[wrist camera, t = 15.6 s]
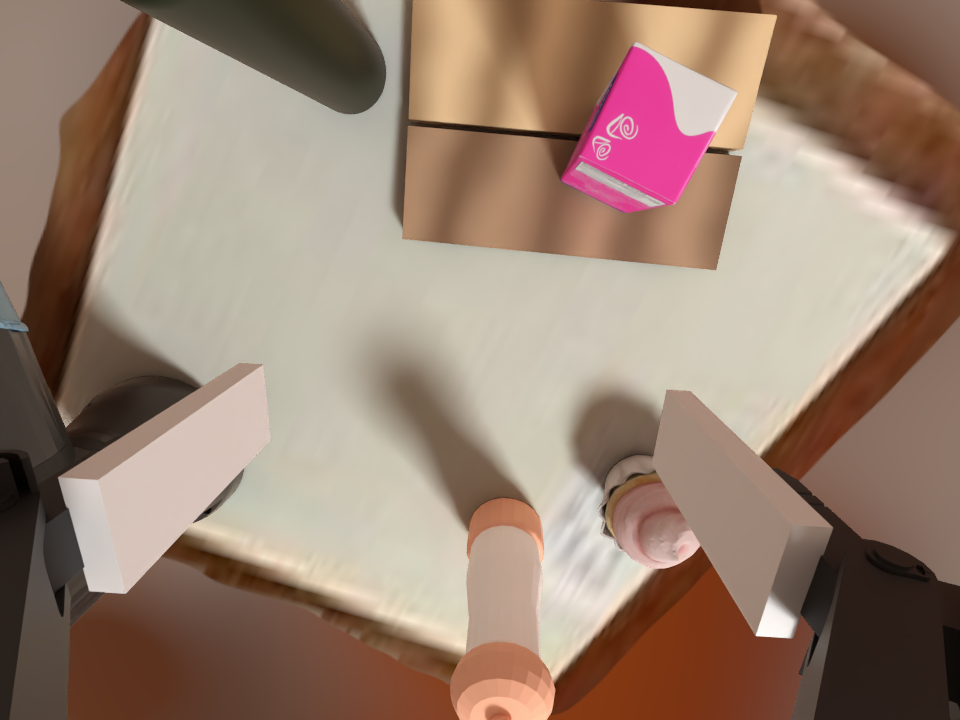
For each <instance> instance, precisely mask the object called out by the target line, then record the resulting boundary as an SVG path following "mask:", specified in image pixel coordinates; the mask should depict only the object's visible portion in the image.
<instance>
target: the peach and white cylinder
mask: <svg viewBox="0 0 960 720" xmlns="http://www.w3.org/2000/svg"><path fill="white" fill-rule="evenodd" d="M467 555H468V558H469V564H468V570H467V582H466V584H467V598H468V611H469V623H468V634H467V644H466V654H465V655H464V656H463V657H462V659H461V660H460V661H459V663H458V665H457V667H456V669H455V671H454V673H453V675H452V677H451V685H450V692H451V700H452V704H453V706H454V708H455V711H456V713H457V715H458V717H459V719H460V720H547V718H548V717H549V715H550V714H551V712H552V707H553V701H554V694H555V687H554V684H553V681H552V678H551V675H550V673H549V670H548V669H547V667H546V665H545V664H544V663H543V662H542V660H541V653H540V634H539V612H540V603H541V595H542V586H543V575H542V567H541V562H542V561H543V555H544V544H543V533H542V525H541V522H540V518H539V516H538V515H537V513H536V512H535V511H534V509H532V508H531V507H530V506H528V505H527V504H526V503H524V502H521V501H519V500H516V499H510V498H499V499H494V500H490V501H488V502H486V503H484V504H482V505H481V506H480V507H479V508H478V509H477V510H476V511H475V512H474V514H473V516H472V518H471V520H470V527H469V534H468V542H467Z"/></svg>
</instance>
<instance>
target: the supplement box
mask: <svg viewBox="0 0 960 720" xmlns="http://www.w3.org/2000/svg"><path fill="white" fill-rule="evenodd" d="M737 93H738V92H737V91H736V90H734V89H731V88H730V87H728V86H726V85H723V84H721V83H719V82H717V81H715V80H713V79H711V78H709V77H707V76H705V75H703V74H701V73H699V72H697V71H695V70H693V69H690V68H688V67H686V66H684V65H682V64H680V63H678V62H676V61H674V60H672V59H670V58H668V57H666V56H664V55H662V54H660V53H658V52H656V51H655V50H653V49H651V48H649V47H647V46H644V45H643V44H641V43H639V42H637V41H635V42H633V44H632V45H631V47H630V49H629V50H628V52H627V54H626V55H625V57H624V59H623V60H622V62H621V63H620V65H619V67H618V68H617V70H616V71H615V73H614V74H613V76H612V78H611V80H610V81H609V83H608V85H607V86H606V88H605V90H604V91H603V93H602V94H601V96H600V98H599V99H598V101H597V103H596V105H595V107H594V110H593V112H592V114H591V116H590V118H589V120H588V122H587V125H586V127H585V129H584V131H583V133H582V135H581V137H580V139H579V142H578V144H577V146H576V148H575V150H574V152H573V154H572V157H571V159H570V161H569V163H568V165H567V167H566V169H565V171H564V173H563V175H562V177H561V179H560V181H561V182H563V183H565V184H567V185H569V186H571V187H573V188H575V189H577V190H579V191H581V192H583V193H585V194H587V195H589V196H591V197H593V198H595V199H597V200H599V201H601V202H603V203H605V204H607V205H609V206H611V207H613V208H615V209H617V210H619V211H621V212H624V213H629V212H634V211H640V210H645V209H651V208H656V207H662V206H669V205H674V204H675V203H676V202H677V201H678V200H679V198H680V196H681V195H682V193H683V191H684V190H685V188H686V186H687V184H688V183H689V181H690V179H691V177H692V175H693V174H694V172H695V170H696V168H697V167H698V165H699V163H700V161H701V160H702V158H703V156H704V154H705V152H706V150H707V149H708V147H709V145H710V143H711V141H712V140H713V138H714V136H715V134H716V132H717V130H718V129H719V127H720V125H721V123H722V121H723V120H724V118H725V116H726V114H727V112H728V111H729V109H730V107H731V105H732V103H733V101H734V100H735V98H736V96H737Z"/></svg>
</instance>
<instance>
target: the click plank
mask: <svg viewBox="0 0 960 720" xmlns="http://www.w3.org/2000/svg"><path fill="white" fill-rule="evenodd" d="M578 142H579V141H570V140H559V139H548V138H537V137H526V136H516V135H505V134H494V133H483V132H472V131H461V130H450V129H439V128H428V127H417V126H408V134H407V155H406V175H405V195H404V216H403V236H402V239H410V240H420V241H430V242H440V243H450V244H460V245H470V246H480V247H490V248H500V249H510V250H520V251H530V252H540V253H550V254H560V255H570V256H580V257H590V258H600V259H610V260H620V261H630V262H640V263H650V264H660V265H670V266H680V267H690V268H700V269H710V270H716V268H717V263H718V259H719V255H720V250H721V246H722V241H723V237H724V233H725V228H726V224H727V219H728V215H729V211H730V206H731V202H732V197H733V193H734V189H735V184H736V180H737V175H738V171H739V167H740V162H741V158H742V156H734V155H723V154H712V153H705V154H704V156H703V158H702V160H701V161H700V163H699V165H698V167H697V168H696V170H695V172H694V174H693V175H692V177H691V179H690V181H689V183H688V184H687V186H686V188H685V190H684V191H683V193H682V195H681V196H680V198H679V200H678V201H677V202H676V203H675V204H674V205H669V206H662V207H656V208H651V209H645V210H640V211H634V212H629V213H624V212H621V211H619V210H617V209H615V208H613V207H611V206H609V205H607V204H605V203H603V202H601V201H599V200H597V199H595V198H593V197H591V196H589V195H587V194H585V193H583V192H581V191H579V190H577V189H575V188H573V187H571V186H569V185H567V184H565V183H563V182H561V181H560V179H561V177H562V175H563V173H564V171H565V169H566V167H567V165H568V163H569V161H570V159H571V157H572V154H573V152H574V150H575V148H576V146H577V144H578Z"/></svg>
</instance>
